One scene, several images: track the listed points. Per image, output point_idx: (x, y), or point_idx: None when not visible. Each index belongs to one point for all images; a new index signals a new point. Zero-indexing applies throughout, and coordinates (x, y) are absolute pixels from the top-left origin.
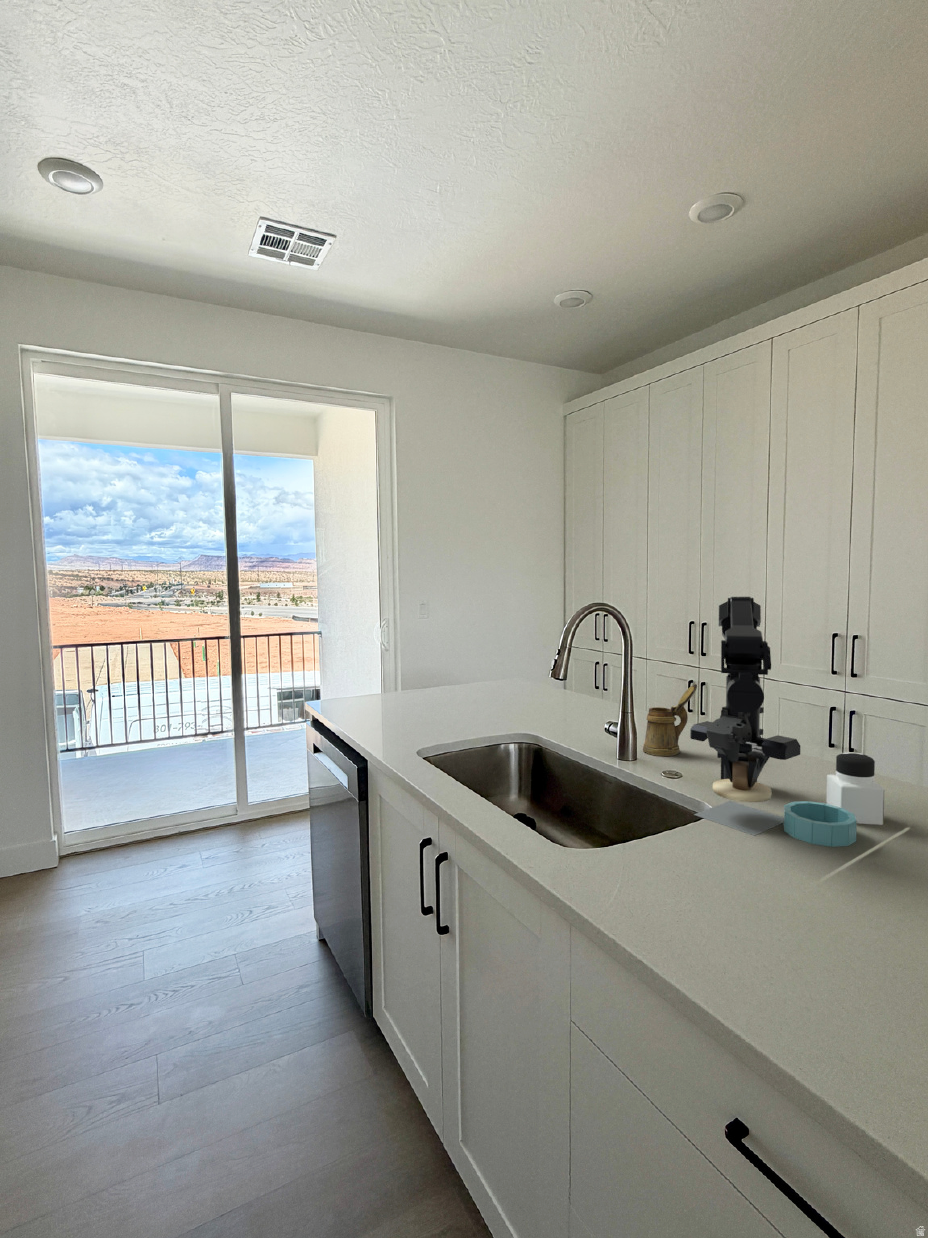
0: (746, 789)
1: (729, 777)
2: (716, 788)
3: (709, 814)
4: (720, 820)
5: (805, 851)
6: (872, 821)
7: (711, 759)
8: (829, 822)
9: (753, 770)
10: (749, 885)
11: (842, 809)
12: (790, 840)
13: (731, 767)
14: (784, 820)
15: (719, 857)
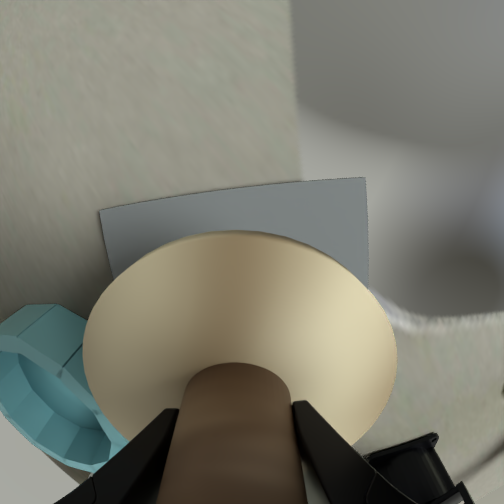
0: (185, 390)
1: (314, 415)
2: (317, 259)
3: (331, 233)
4: (262, 219)
5: (10, 260)
6: (92, 474)
7: (469, 471)
8: (93, 434)
9: (85, 486)
10: (4, 15)
11: (58, 458)
12: (59, 293)
13: (314, 483)
14: (80, 348)
15: (86, 13)
